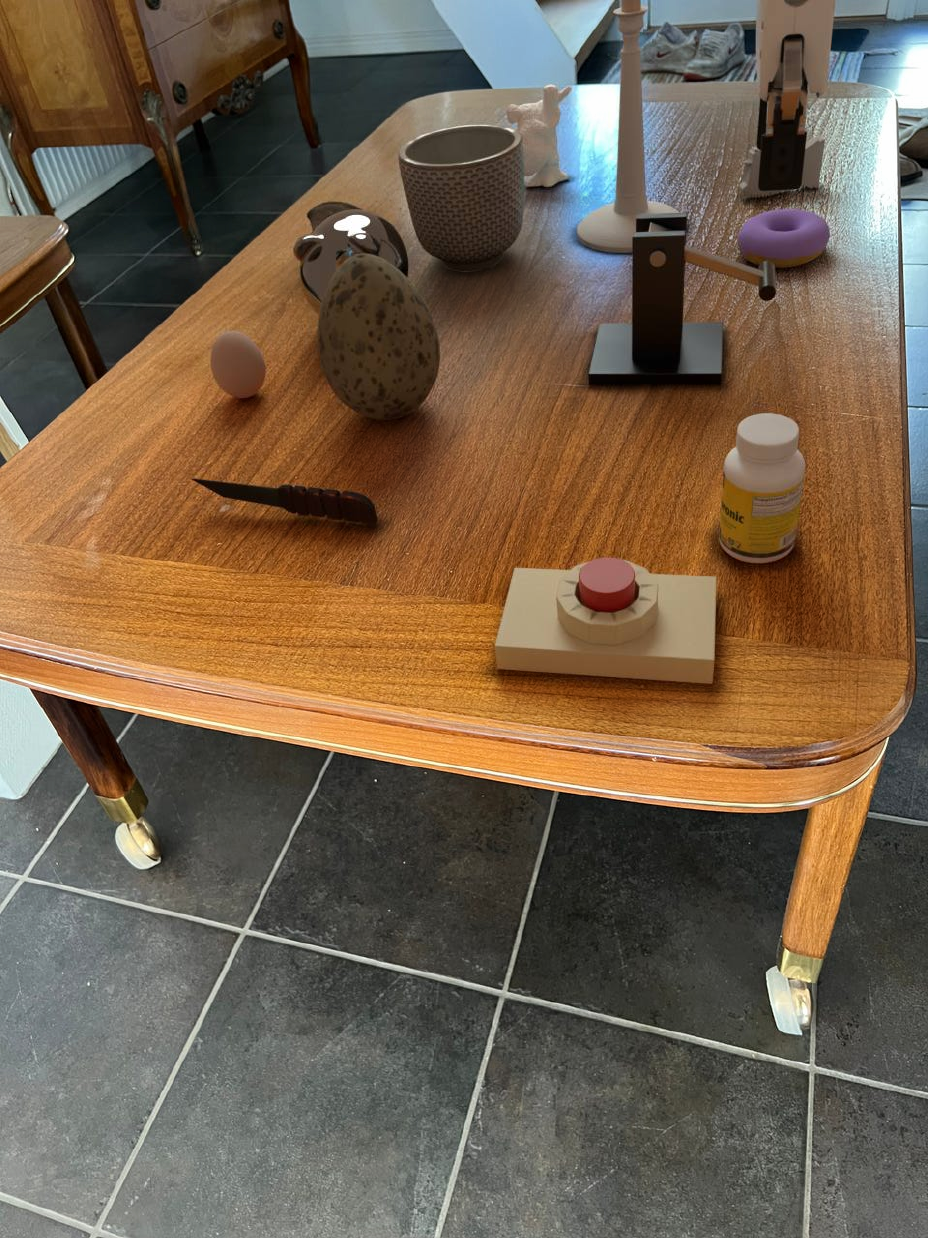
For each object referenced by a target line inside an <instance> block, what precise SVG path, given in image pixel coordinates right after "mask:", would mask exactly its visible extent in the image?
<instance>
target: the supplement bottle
mask: <svg viewBox="0 0 928 1238" xmlns="http://www.w3.org/2000/svg"><path fill="white" fill-rule="evenodd" d="M799 437H800V427H799V425H798V423H797V422H795V421H794V420H793V419H792V418H790V417H788V416H785V415H782V414H778V413H771V412H768V413H767V412H766V413H763V412H762V413H757V414H752V415H750V416H747V417H745V418H744V419H742V420H741V421H740V422H739V423H738V426H737V430H736V439H735V446H734V447H733V448H732V449H731V450H730V451H729V452H728V454H727V455H726V457H725V459H724V464H723V471H722V472H723V473H722V488H721V489H722V490H721V503H720V516H719V517H720V518H719V525H718V527H719V528H718V540H719V544H720V546H721V548H722V549H723V550H724V552H726V554H728V555H729V556H730V557H732V558H734V559H736V560H738V561H741V562H745V563H750V564H766V563H768V564H769V563H772V562H776V561H779V560H781V559H783V558H784V557H786V556H788V554H789V553H791V551H792V549H793V548H794V545H795V543H796V537H797V536H796V535H797V531H798V524H799V515H800V509H801V502H802V494H803V487H804V481H805V476H806V475H805V474H806V460H805V458H804V456H803V454H802V453H801V451H799V449H798V446H799V439H800V438H799Z"/></svg>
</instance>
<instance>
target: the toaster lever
mask: <svg viewBox="0 0 928 1238" xmlns="http://www.w3.org/2000/svg"><path fill="white" fill-rule="evenodd" d="M662 231H675V230H672V229H669V228H666V227H663V226H660V225H657V224H654V223H650V225H649V228H648V230H647V232H662ZM684 261H685V263H687V264H691V265H693V266H696V267H700V268H703V269H706V270H709V271H712V272H714V273H718V274H721V275H724V276H727V277H729V278H732V279H736V280H739V281H742V282H745V283H748V284H751V285H754V286H757V287H758V297H759V298H760V300H761V301H764V302H768V301H772V300H773V299H775V297H776V295H777V285H776V284H777V280H776V268H775V266H774V264H773V263H772V262H770V261H764V262H762V263H761V264H760V265H758V267H757V268H755V267H753V266H749V265H746V264H743V263H740V262H737V261H734V260H731V259H728V258H725V257H722V256H720V255H716V254H713V253H710V252H707V251H704V250H702V249H698V248H695V247H692V246H689V245H687V244H686V245H685V255H684Z"/></svg>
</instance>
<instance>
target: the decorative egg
mask: <svg viewBox="0 0 928 1238" xmlns="http://www.w3.org/2000/svg"><path fill="white" fill-rule="evenodd" d="M317 350H318V357H319V362H320V366H321V369H322V372H323V374H324V377H325V379H326V381H327V384H328V385H329V387H330V389H331V390H332V392H333V393H334V395H335V396H336V397H337V398H338V399H339V400H340V401H341V402H342V403H343V404H344V405H345V406H346V407H348V408H349V409H351V410H352V411H353V412H355V413H357V414H359V415H361V416H363V417H366V418H369V419H372V420H378V421H379V420H380V421H387V420H388V421H389V420H391V421H392V420H396V419H399V418H402V417H405V416H407V415H409V414H410V413H412V412H413V411H415V410H417V408H419V407H420V406H421V405H422V404H423V403H424V401H425V400H426V399H427V398H428V396H429V395H430V393H431V392H432V390H433V388H434V386H435V383H436V381H437V378H438V375H439V370H440V363H441V347H440V340H439V334H438V330H437V327H436V324H435V321H434V319H433V316H432V313H431V311H430V309H429V307H428V306H427V303H426V301H425V300H424V298H423V296H422V295H421V294H420V292H419V290H418V289H417V288H416V287H415V285H414V284H413V282H412V281H411V280H410V279H409V277H408V278H407V277H406V276H405V275H404V274H403V273H402V272H401V271H400V270H399V269H397V268H396V267H395V266H394V265H392V264H391V263H389V262H388V261H386V260H385V259H383V258H381V257H378V256H375V255H372V254H357V255H354V256H351V257H350V258H348V259H347V260H345V261H344V262H343V263H342V264H341V265H340V266H339V268H338V269H337V270H336V271H335V273H334V274H333V276H332V278H331V280H330V281H329V284H328V286H327V288H326V290H325V293H324V296H323V299H322V303H321V307H320V313H319V315H318V320H317Z"/></svg>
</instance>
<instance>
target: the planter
mask: <svg viewBox="0 0 928 1238" xmlns="http://www.w3.org/2000/svg"><path fill="white" fill-rule="evenodd" d="M398 167H399V173H400V176H401V181H402V186H403V190H404V196H405V199H406V204H407V208H408V212H409V216H410V219H411V223H412V227H413V230H414V232H415V236H416V238H417V240H418V242H419V245H421V247H422V249H423V250H425V251H426V252H427V254H429V255H430V256H431V257H433V258H435V259H437V260H439V261H441V263H442V264H443V265H444V267H446V268H447V269H449V270H451V271H454V272H455V271H456V272H461V273H462V272H463V273H465V272H466V273H467V272H468V273H469V272H478V271H482V270H485V269H488V268H492V267H493V266H495V265H496V264H498V263H499V262H500V261H501V260H502V258H503V256H504V253H505V252H506V251H507V250H509V249H510V248H511V247H512V246H513V245H514V243H515V242H516V241H517V239H518V238H519V235H520V234H521V231H522V226H523V223H524V222H523V220H524V210H525V206H524V205H525V176H524V145H523V140H522V136H521V134H520V133H519V132H518V131H517V129H515V128H513V127H510V126H506V125H501V124H495V123H471V124H460V125H454V126H453V125H452V126H447V127H443V128H439V129H434V130H432V131H428V132H425V133H423V134H420V135H418V136H415V137H414V138H412V139H410V140H408V141H406V142H405V143H404V144H403V145H402V146H401V147H400V149H399V151H398Z"/></svg>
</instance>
